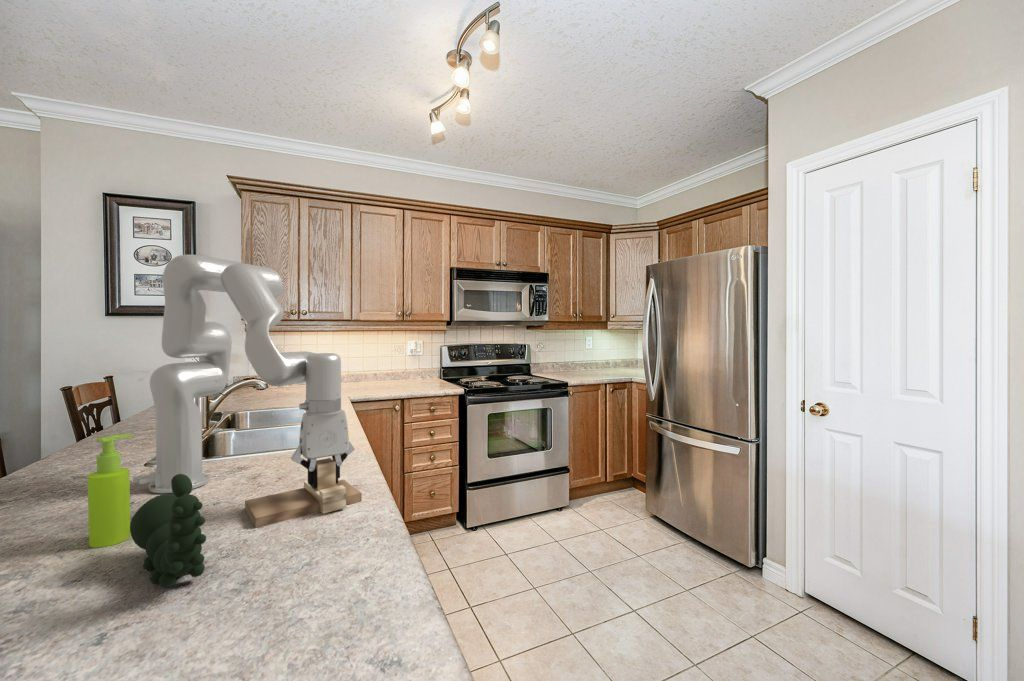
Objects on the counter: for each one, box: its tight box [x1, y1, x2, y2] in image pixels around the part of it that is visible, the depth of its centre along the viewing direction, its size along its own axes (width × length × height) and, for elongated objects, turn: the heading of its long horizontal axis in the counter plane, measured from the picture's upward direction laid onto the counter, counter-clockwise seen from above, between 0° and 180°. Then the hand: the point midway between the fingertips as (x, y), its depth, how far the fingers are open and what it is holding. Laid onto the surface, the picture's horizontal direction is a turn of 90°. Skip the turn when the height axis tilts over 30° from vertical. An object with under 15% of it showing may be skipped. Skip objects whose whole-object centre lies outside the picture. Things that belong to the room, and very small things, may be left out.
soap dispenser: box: [87, 433, 136, 549], centre depth 85 cm, size 6×7×20 cm
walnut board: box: [244, 479, 363, 529], centre depth 102 cm, size 22×12×2 cm, turn 130°
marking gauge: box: [303, 457, 347, 515], centre depth 103 cm, size 5×14×9 cm, turn 40°
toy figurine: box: [130, 474, 207, 588], centre depth 75 cm, size 9×19×25 cm
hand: (324, 483), depth 103 cm, fingers closed on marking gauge, 4 cm apart
